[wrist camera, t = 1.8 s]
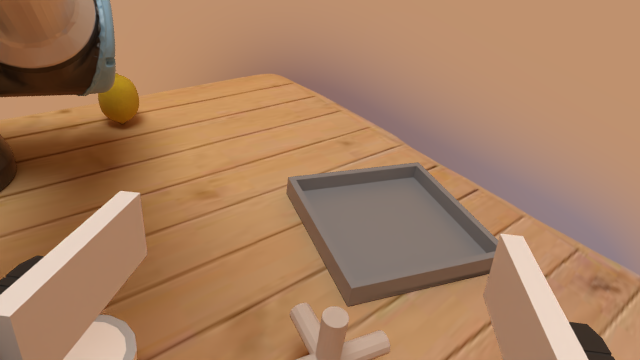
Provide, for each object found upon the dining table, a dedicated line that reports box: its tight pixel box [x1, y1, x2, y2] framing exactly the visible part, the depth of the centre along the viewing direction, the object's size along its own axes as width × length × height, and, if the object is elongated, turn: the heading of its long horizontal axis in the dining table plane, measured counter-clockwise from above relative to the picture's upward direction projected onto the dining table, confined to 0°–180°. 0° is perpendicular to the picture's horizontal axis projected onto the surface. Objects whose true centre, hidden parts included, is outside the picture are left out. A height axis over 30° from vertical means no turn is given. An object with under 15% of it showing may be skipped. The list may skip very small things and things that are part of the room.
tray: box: [287, 163, 498, 306], centre depth 55 cm, size 20×20×2 cm
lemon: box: [98, 73, 139, 124], centre depth 68 cm, size 6×6×8 cm
